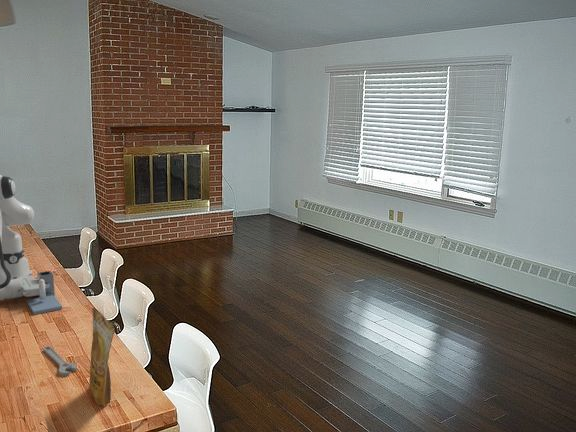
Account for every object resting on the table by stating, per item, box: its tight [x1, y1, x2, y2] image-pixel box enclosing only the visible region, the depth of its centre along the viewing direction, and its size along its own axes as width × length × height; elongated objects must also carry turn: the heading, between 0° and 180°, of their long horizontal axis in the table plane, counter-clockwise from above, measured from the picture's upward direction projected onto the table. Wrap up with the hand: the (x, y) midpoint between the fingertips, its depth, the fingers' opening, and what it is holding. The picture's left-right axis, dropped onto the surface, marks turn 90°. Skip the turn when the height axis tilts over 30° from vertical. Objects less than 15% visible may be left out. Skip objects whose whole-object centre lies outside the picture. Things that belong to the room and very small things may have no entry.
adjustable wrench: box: [43, 346, 78, 377], centre depth 202 cm, size 25×6×2 cm, turn 38°
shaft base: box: [26, 279, 63, 316], centre depth 250 cm, size 16×12×12 cm
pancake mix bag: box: [88, 307, 115, 408], centre depth 178 cm, size 7×19×28 cm, turn 30°
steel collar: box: [36, 270, 56, 297], centre depth 264 cm, size 6×6×11 cm
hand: (47, 282), depth 264 cm, fingers closed on steel collar, 6 cm apart
